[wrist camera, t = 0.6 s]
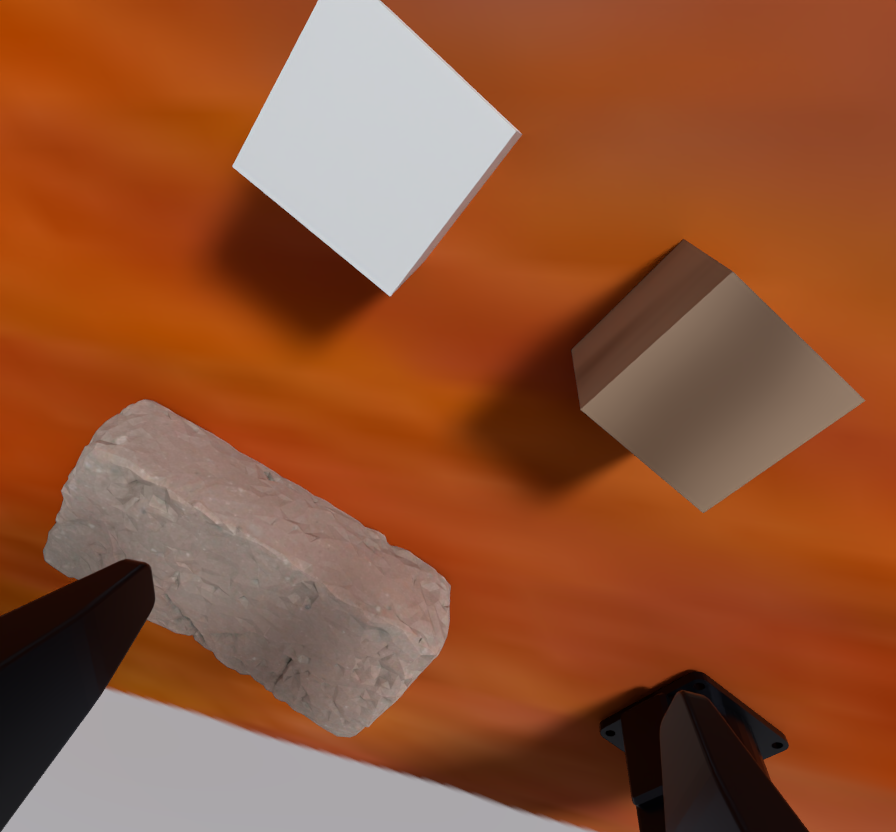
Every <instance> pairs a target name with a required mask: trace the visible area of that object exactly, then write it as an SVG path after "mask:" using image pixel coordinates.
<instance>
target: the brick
mask: <svg viewBox="0 0 896 832" xmlns="http://www.w3.org/2000/svg"><path fill="white" fill-rule="evenodd" d="M61 492H62V495H63V497H64V499H63V503H62V506H61V510H60V512H59V513H58V514H57V516H56V524H55V525H54V526H53V527H52V529H51V530H50V531H49V533H48V541H47V543H46V546H45V548H44V550H43V554H44V559H45V561H46V562H47V563H48V564H50V565H51V566H52V567H54V568H55V569H57V570H58V571H60V572H61V573H63V574H65V575H66V576H68V577H74V578H76V579H78V580H79V579H81V578H83V577H86V576H88V575H90V574H92V573H94V572H96V571H98V570H101V569H103V568H105V567H107V566H109V565H111V564H114V563H116V562H118V561H120V560H123V559H133V560H137V561H142V562H146V563H148V564H149V565H150V566H151V569H152V575H153V582H154V589H155V604H154V607H153V609H152V611H151V613H150V615H149V617H148V618H147V620H149V621H151V622H153V623H156V624H158V625H160V626H163V627H165V628H167V629H169V630H171V631H173V632H175V633H179V634H184V635H193V636H194V639H195V640H196V641H197V642H198V643H200V644H201V645H202V646H203V647H204V648H206V649H208V650H210V651H212V652H213V653H214V655H215V657H216V658H217V659H218V660H219V661H220V662H222V663H223V664H224V665H226V666H227V667H228V668H231V669H233V670H234V669H235V670H236V671H237V672H238V673H240V674H245V675H251V676H252V677H253V678H254V679H255V680H256V681H257V682H259V683H261V684H262V685H264V687H265V689H266V690H268V691H270V692H272V693H273V695H274V697H275V698H277V699H279V700H280V701H284V702H286V703H287V704H288V705H289V706H290V707H291V708H292V709H293V710H294V711H297V712H299V713H301V714H303V715H305V716H306V717H308V718H309V719H310V720H312V721H313V722H315V723H316V724H317V725H319V726H320V727H322V728H324V729H325V730H327V731H329V732H331V733H333V734H334V735H336V736H341V737H352V736H355V735H357V734H358V733H359V732H360V731H361V730H362V729H363V728H364V727H369V726H370V725H371V724H372V723H373V721H374V720H376V719H377V718H378V717H379V716H380V715H381V714H382V713H383V712H384V711H386V710H387V709H388V708H389V707H390V706H391V705H392V704H393V703H395V702H396V701H397V700H398V699H399V698H400V697H401V695H402V694H403V693H404V692H405V691H406V689H407V688H408V687H409V686H410V685H411V684H412V682H413V681H414V680H415V679H416V678H417V677H418V676H419V675H420V673H421V672H422V671H423V670H424V669H425V668H426V667H427V666H428V665H429V664H430V663H431V662H432V660H434V659H435V658H436V657H437V656H438V655H439V653H440V651H441V649H442V647H443V645H444V642H445V640H446V637H447V634H448V628H449V622H450V608H449V605H450V588H451V586H450V584H449V583H448V582H447V581H446V579H445V578H444V577H443V576H441V575H440V574H439V573H437V571H436V570H435V569H434V568H433V567H431V566H429V565H428V564H426V563H425V562H423V561H422V560H420V559H419V558H418V557H416V556H415V555H413V554H412V553H411V552H409V551H408V550H405V549H403V548H400V547H397V546H391V545H389V544H388V542H387V541H386V537H385V536H384V535H383V534H381V533H380V532H378V531H376V530H373V529H370V528H367V527H364V526H363V525H362V524H361V523H360V522H359V521H358V520H356V519H354V518H353V517H351V516H349V515H348V514H346V513H344V512H343V511H341V510H339V509H337V508H336V507H334V506H333V505H332V504H330V503H329V502H327V501H325V500H324V499H321V498H319V497H317V496H314V495H312V494H311V493H310V492H308V491H307V490H306V489H304V488H302V487H301V486H299V485H297V484H295V483H293V482H291V481H289V480H288V479H285V478H283V477H281V476H280V475H279V474H277V473H276V472H274V471H273V470H271V469H269V468H268V467H266V466H264V465H263V464H261V463H260V462H258V461H256V460H254V459H252V458H250V457H248V456H246V455H244V454H242V453H240V452H238V451H237V450H236V449H235V448H233V447H232V446H231V445H230V444H228V443H227V442H225V441H224V440H222V439H220V438H218V437H217V436H215V435H214V434H213V433H211V432H208V431H206V430H205V429H203V428H201V427H199V426H198V425H196V424H194V423H192V422H190V421H188V420H187V419H185V418H183V417H181V416H179V415H177V414H175V413H174V412H172V411H171V410H169V409H168V408H166V407H164V406H162V405H160V404H158V403H156V402H154V401H151V400H146V399H144V400H141V401H138V402H137V403H136V404H130V405H129V406H128V407H126V408H125V409H123V410H122V411H121V413H120V414H119V415H118V414H117V415H115V416H114V417H112V418H111V419H109V420H107V421H106V422H105V423H104V424H103V425H102V426H101V427H100V428H99V429H98V430H97V431H96V433H95V434H94V436H93V438H92V440H91V442H90V444H89V445H87V446H85V448H84V450H83V452H82V454H81V456H80V458H79V460H78V462H77V465H76V466H75V467H74V469H73V470H72V472H71V473H70V474H69V476H68V481H67V482H66V483H65V485H64V486H63V488H62V490H61Z"/></svg>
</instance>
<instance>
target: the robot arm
mask: <svg viewBox="0 0 896 832" xmlns="http://www.w3.org/2000/svg"><path fill="white" fill-rule="evenodd" d="M154 604H155V589H154V582H153V575H152V569H151V566H150V565H149V564H148V563H146V562H142V561H137V560H133V559H123V560H120V561H118V562H116V563H114V564H111V565H109V566H107V567H105V568H103V569H101V570H98V571H96V572H94V573H92V574H90V575H88V576H86V577H83V578H81V579H79V580H77V581H75V582H73V583H71V584H68V585H66V586H64V587H62V588H60V589H58V590H56V591H53V592H51V593H49V594H47V595H45V596H43V597H41V598H38V599H36V600H34V601H32V602H30V603H28V604H25V605H23V606H21V607H19V608H17V609H15V610H13V611H10V612H8V613H6V614H4V615H2V616H0V832H1V831H2V830H3V828H4V827H5V825H6V824H7V823H8V821H9V820H10V819H11V817H12V816H13V815H14V813H15V812H16V810H17V809H18V808H19V806H20V805H21V804H22V802H23V801H24V800H25V798H26V797H27V796H28V794H29V793H30V791H31V790H32V789H33V787H34V786H35V785H36V783H37V782H38V780H39V779H40V778H41V776H42V775H43V774H44V772H45V771H46V769H47V768H48V767H49V766H50V764H51V763H52V761H53V760H54V759H55V757H56V756H57V755H58V753H59V752H60V751H61V749H62V748H63V746H64V745H65V744H66V742H67V741H68V740H69V738H70V737H71V736H72V734H73V733H74V732H75V730H76V729H77V727H78V726H79V725H80V723H81V722H82V721H83V719H84V718H85V717H86V715H87V714H88V713H89V711H90V710H91V708H92V707H93V706H94V704H95V703H96V701H97V700H98V698H99V697H100V696H101V694H102V692H103V691H104V689H105V688H106V686H107V685H108V683H109V681H110V680H111V678H112V676H113V675H114V673H115V671H116V670H117V668H118V666H119V665H120V663H121V662H122V660H123V658H124V657H125V655H126V653H127V652H128V650H129V648H130V647H131V645H132V643H133V642H134V640H135V638H136V637H137V635H138V633H139V632H140V630H141V628H142V627H143V625H144V623H145V622H146V620H147V618H148V617H149V615H150V613H151V611H152V609H153V607H154ZM600 733H601V736H602V737H604V738H605V739H606V740H608V741H609V742H611V743H612V744H614V745H615V746H616V747H618V748H619V749H621V750H622V751H624V752H625V755H626V762H627V769H628V776H629V783H630V790H631V797H632V801H633V803H634V804H635V805H636V809H637V816H638V823H639V830H640V832H809V831H808V830H807V828H806V827H805V826H804V824H803V823H802V822H801V820H800V819H799V818H798V816H797V815H796V814H795V812H794V811H793V810H792V808H791V807H790V806H789V804H788V803H787V802H786V800H785V799H784V798H783V796H782V795H781V794H780V792H779V791H778V790H777V788H776V787H775V786H774V785H773V783H772V782H771V780H770V777H769V774H768V771H767V769H766V766H765V763H764V760H763V759H766V758H768V757H771V756H773V755H775V754H778V753H780V752H782V751H784V750H786V749H787V748H788V747H789V745H788V742H787V739H786V737H785V735H784V734H783V733H782V732H781V731H779V730H778V729H777V728H775V727H774V726H773V725H771V724H770V723H769V722H767V721H766V720H765V719H764V718H762V717H761V716H760V715H758V714H757V713H756V712H754V711H753V710H752V709H750V708H749V707H748V706H747V705H745V704H744V703H743V702H741V701H740V700H739V699H737V698H736V697H735V696H733V695H732V694H731V693H730V692H728V691H727V690H726V689H724V688H723V687H722V686H720V685H719V684H718V683H716V682H715V681H714V680H713V679H711V678H710V677H709V676H707V675H706V674H704V673H702V672H692V673H689V674H688V675H686V676H684V677H682V678H680V679H678V680H677V681H675V682H673V683H671V684H669V685H667V686H666V687H664V688H662V689H660V690H658V691H656V692H655V693H653V694H651V695H649V696H647V697H645V698H644V699H642V700H640V701H638V702H636V703H634V704H633V705H631V706H629V707H627V708H625V709H623V710H622V711H620V712H618V713H616V714H614V715H612V716H611V717H609V718H607V719H605V720H603V721H602V722H601V723H600Z"/></svg>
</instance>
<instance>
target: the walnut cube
mask: <svg viewBox="0 0 896 832" xmlns="http://www.w3.org/2000/svg"><path fill="white" fill-rule="evenodd" d="M571 352H572V358H573V365H574V371H575V378H576V384H577V391H578V397H579V403H580V410H582V411H583V412H584V413H585V414H586V415H587V416H589V417H590V418H591V419H592V420H593V421H595V422H596V423H597V424H598V425H599V426H601V427H602V428H603V429H604V430H605V431H606V432H608V433H609V434H610V435H611V436H612V437H614V438H615V439H616V440H617V441H618V442H620V443H621V444H622V445H623V446H624V447H625V448H627V449H628V450H629V451H630V452H631V453H633V454H634V455H635V456H636V457H637V458H639V459H640V460H641V461H642V462H643V463H644V464H646V465H647V466H648V467H649V468H650V469H652V470H653V471H654V472H655V473H656V474H658V475H659V476H660V477H661V478H662V479H663V480H665V481H666V482H667V483H668V484H669V485H671V486H672V487H673V488H674V489H675V490H677V491H678V492H679V493H680V494H681V495H682V496H684V497H685V498H686V499H687V500H688V501H690V502H691V503H692V504H693V505H694V506H696V507H697V508H698V509H699V510H700V511H701V512H703V513H704V512H706V511H707V510H708V509H710V508H711V507H713V506H714V505H716V504H717V503H719V502H720V501H721V500H723V499H724V498H726V497H727V496H729V495H730V494H731V493H733V492H734V491H736V490H737V489H739V488H740V487H742V486H743V485H744V484H746V483H747V482H749V481H750V480H752V479H753V478H755V477H756V476H757V475H759V474H760V473H762V472H763V471H765V470H766V469H767V468H769V467H770V466H772V465H773V464H775V463H776V462H778V461H779V460H780V459H782V458H783V457H785V456H786V455H788V454H789V453H791V452H792V451H793V450H795V449H796V448H798V447H799V446H801V445H802V444H803V443H805V442H806V441H808V440H809V439H811V438H812V437H814V436H815V435H816V434H818V433H819V432H821V431H822V430H824V429H825V428H827V427H828V426H829V425H831V424H832V423H834V422H835V421H837V420H838V419H839V418H841V417H842V416H844V415H845V414H847V413H848V412H850V411H851V410H852V409H854V408H855V407H857V406H858V405H860V404H861V403H863V402H864V401H865V400H864V399H863V398H862V397H861V396H860V395H859V394H858V393H857V392H856V391H855V390H854V389H853V388H852V387H851V386H850V385H849V384H848V383H847V382H846V381H845V380H844V379H843V378H841V377H840V376H839V375H838V374H837V373H836V372H835V371H834V370H833V369H832V368H831V367H830V366H829V365H828V364H827V363H826V362H825V361H824V360H823V359H822V358H821V357H820V356H819V355H818V354H817V353H816V352H815V351H814V350H813V349H812V348H811V347H810V346H809V345H808V344H807V343H806V342H805V341H804V340H802V339H801V338H800V337H799V336H798V335H797V334H796V333H795V332H794V331H793V330H792V329H791V328H790V327H789V326H788V325H787V324H786V323H785V322H784V321H783V320H782V319H781V318H780V317H779V316H778V315H777V314H776V313H775V312H774V311H773V310H772V309H771V308H770V307H769V306H768V305H767V304H766V303H765V302H763V301H762V300H761V299H760V298H759V297H758V296H757V295H756V294H755V293H754V292H753V291H752V290H751V289H750V288H749V287H748V286H747V285H746V284H745V283H744V282H743V281H742V280H741V279H740V278H739V277H738V276H737V275H736V274H735V273H734V272H733V271H731V270H730V269H728V268H727V267H725V266H724V265H722V264H721V263H719V262H718V261H716V260H714V259H713V258H711V257H710V256H708V255H707V254H705V253H704V252H702V251H701V250H699V249H698V248H696V247H695V246H693V245H692V244H690V243H689V242H687V241H686V240H684V239H683V240H682V241H681V242H680V243H679V244H678V245H677V246H676V247H675V248H674V249H673V250H672V251H671V252H670V253H669V254H668V255H667V256H666V257H665V258H664V259H663V260H662V261H661V262H660V263H659V264H658V265H657V266H656V267H655V268H654V269H653V270H652V271H651V272H650V273H649V274H648V275H647V276H646V277H645V278H644V279H643V280H642V281H641V282H640V283H639V284H638V285H637V286H636V287H635V288H633V289H632V290H631V291H630V292H629V293H628V294H627V295H626V296H625V297H624V298H623V299H622V300H621V301H620V302H619V303H618V304H617V305H616V306H615V307H614V308H613V309H612V310H611V311H610V312H609V313H608V314H607V315H606V316H605V317H604V318H603V319H602V320H601V321H600V322H599V323H598V324H597V325H596V326H595V327H594V328H593V329H592V330H591V331H590V332H589V333H588V334H587V335H586V336H585V337H584V338H583V339H582V340H581V341H580V342H579V343H578V344H577V345H576V346H575V347H574V348H573V349H572V350H571Z"/></svg>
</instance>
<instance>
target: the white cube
mask: <svg viewBox="0 0 896 832" xmlns="http://www.w3.org/2000/svg"><path fill="white" fill-rule="evenodd" d="M521 135H522V134H521V133H520V132H519V131H518V130H517V129H516V128H515V127H514V126H513V125H512V124H511V123H510V122H509V121H508V120H507V119H506V118H505V117H503V116H502V115H501V114H500V113H499V112H498V111H497V110H496V109H495V108H494V107H493V106H492V105H491V104H490V103H489V102H488V101H487V100H485V99H484V98H483V97H482V96H481V95H480V94H479V93H478V92H477V91H476V90H475V89H474V88H473V87H472V86H471V85H470V84H469V83H468V82H466V81H465V80H464V79H463V78H462V77H461V76H460V75H459V74H458V73H457V72H456V71H455V70H454V69H453V68H452V67H451V66H450V65H448V64H447V63H446V62H445V61H444V60H443V59H442V58H441V57H440V56H439V55H438V54H437V53H436V52H435V51H434V50H433V49H432V48H430V47H429V46H428V45H427V44H426V43H425V42H424V41H423V40H422V39H421V38H420V37H419V36H418V35H417V34H416V33H415V32H414V31H413V30H411V29H410V28H409V27H408V26H407V25H406V24H405V23H404V22H403V21H402V20H401V19H400V18H399V17H398V16H397V15H396V14H395V13H393V12H392V11H391V10H390V9H389V8H388V7H387V6H386V5H385V4H384V3H382V2H381V1H380V0H318V2H317V4H316V6H315V8H314V10H313V12H312V14H311V16H310V17H309V19H308V21H307V23H306V25H305V27H304V29H303V31H302V33H301V35H300V37H299V39H298V41H297V43H296V45H295V46H294V48H293V50H292V52H291V54H290V56H289V58H288V60H287V62H286V64H285V66H284V68H283V70H282V72H281V73H280V75H279V77H278V79H277V81H276V83H275V85H274V87H273V89H272V91H271V93H270V95H269V97H268V99H267V100H266V102H265V104H264V106H263V108H262V110H261V112H260V114H259V116H258V118H257V120H256V122H255V124H254V126H253V127H252V129H251V131H250V133H249V135H248V137H247V139H246V141H245V143H244V145H243V147H242V149H241V151H240V153H239V154H238V156H237V158H236V160H235V162H234V164H233V166H232V167H233V168H235V169H236V170H237V171H238V172H239V173H241V174H242V175H243V176H244V177H246V178H247V179H248V180H249V181H250V182H252V183H253V184H254V185H255V186H256V187H258V188H259V189H260V190H261V191H263V192H264V193H265V194H266V195H267V196H269V197H270V198H271V199H272V200H273V201H275V202H276V203H277V204H278V205H280V206H281V207H282V208H283V209H284V210H286V211H287V212H288V213H289V214H290V215H292V216H293V217H294V218H295V219H297V220H298V221H299V222H300V223H301V224H303V225H304V226H305V227H306V228H307V229H309V230H310V231H311V232H312V233H314V234H315V235H316V236H317V237H318V238H320V239H321V240H322V241H323V242H324V243H326V244H327V245H328V246H329V247H331V248H332V249H333V250H334V251H335V252H337V253H338V254H339V255H340V256H341V257H343V258H344V259H345V260H346V261H348V262H349V263H350V264H351V265H352V266H354V267H355V268H356V269H357V270H358V271H360V272H361V273H362V274H363V275H365V276H366V277H367V278H368V279H369V280H371V281H372V282H373V283H374V284H375V285H377V286H378V287H379V288H380V289H382V290H383V291H384V292H385V293H386V294H388V295H389V296H391V295H392V294H393V293H394V292H395V291H396V290H397V289H398V288H399V287H400V286H401V285H402V284H403V283H404V282H405V281H406V280H407V279H408V278H409V277H410V276H411V275H412V274H413V273H414V272H415V270H416V269H417V268H418V267H419V266H420V265H421V264H422V263H423V262H424V261H425V260H426V259H427V257H428V256H429V255H430V253H431V252H432V251H433V250H434V248H435V247H436V246H437V244H438V243H439V242H440V240H441V239H442V238H443V237H444V235H445V234H446V233H447V231H448V230H449V229H450V228H451V226H452V225H453V224H454V222H455V221H456V220H457V218H458V217H459V216H460V215H461V213H462V212H463V211H464V209H465V208H466V207H467V205H468V204H469V203H470V202H471V200H472V199H473V198H474V196H475V195H476V194H477V192H478V191H479V190H480V189H481V187H482V186H483V185H484V183H485V182H486V181H487V179H488V178H489V177H490V176H491V174H492V173H493V172H494V170H495V169H496V168H497V167H498V165H499V164H500V163H501V161H502V160H503V159H504V157H505V156H506V155H507V154H508V152H509V151H510V150H511V148H512V147H513V146H514V144H515V143H516V142H517V141H518V139H519V138H520V137H521Z"/></svg>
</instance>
